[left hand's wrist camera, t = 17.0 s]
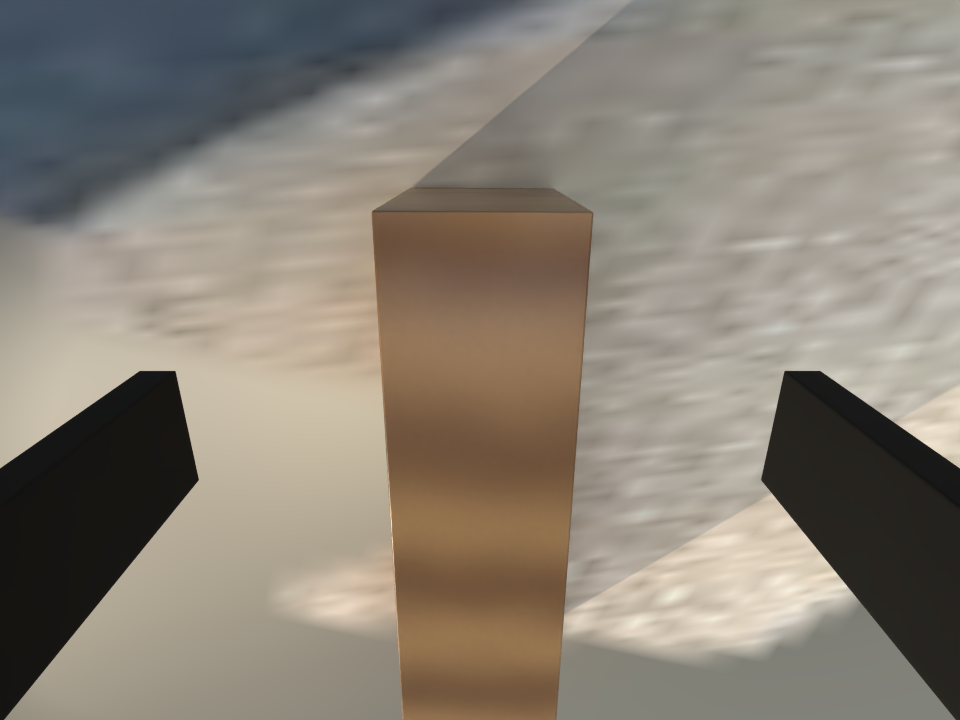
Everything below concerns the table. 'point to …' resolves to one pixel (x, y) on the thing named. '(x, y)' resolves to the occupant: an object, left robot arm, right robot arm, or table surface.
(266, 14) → the table surface
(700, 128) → the table surface
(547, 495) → the box
